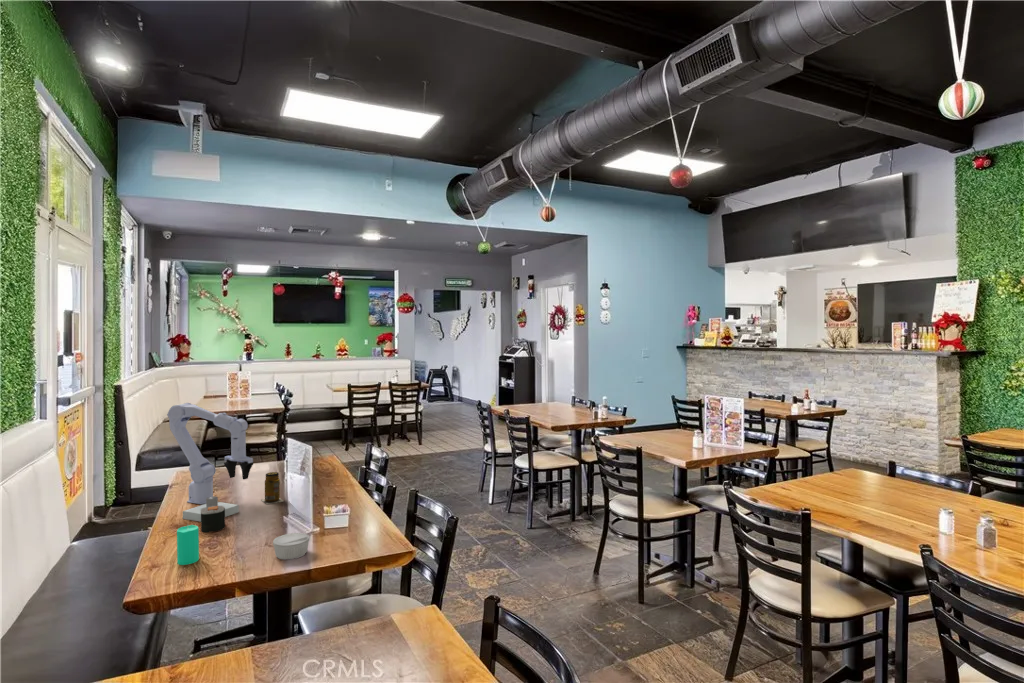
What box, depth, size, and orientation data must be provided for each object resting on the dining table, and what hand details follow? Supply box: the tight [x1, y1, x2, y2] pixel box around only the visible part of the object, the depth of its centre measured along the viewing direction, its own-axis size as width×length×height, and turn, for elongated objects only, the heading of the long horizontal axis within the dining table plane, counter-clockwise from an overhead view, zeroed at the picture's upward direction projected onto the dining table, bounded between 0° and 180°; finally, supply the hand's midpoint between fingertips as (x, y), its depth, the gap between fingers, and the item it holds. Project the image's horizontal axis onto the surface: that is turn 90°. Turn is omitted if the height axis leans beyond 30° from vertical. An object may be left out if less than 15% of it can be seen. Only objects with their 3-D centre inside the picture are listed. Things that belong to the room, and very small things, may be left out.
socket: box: [182, 501, 240, 523], centre depth 221 cm, size 14×14×3 cm
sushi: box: [200, 506, 226, 534], centre depth 206 cm, size 8×8×8 cm
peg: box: [205, 495, 219, 508], centre depth 222 cm, size 4×4×7 cm
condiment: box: [261, 471, 284, 505], centre depth 241 cm, size 7×8×12 cm
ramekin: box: [272, 532, 310, 561], centre depth 181 cm, size 11×11×5 cm
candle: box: [176, 523, 200, 566], centre depth 176 cm, size 6×6×12 cm
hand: (238, 478), depth 241 cm, fingers open, 7 cm apart
